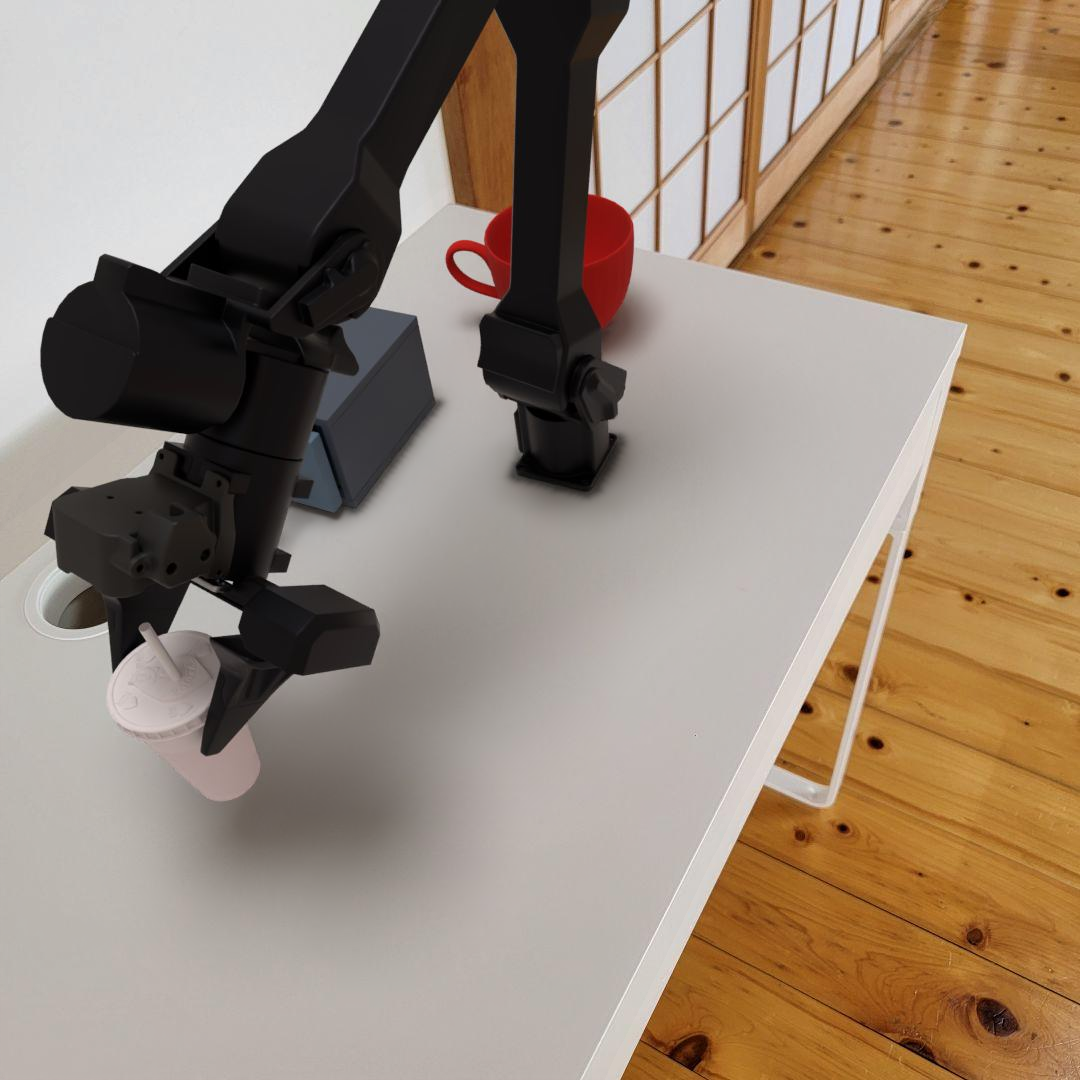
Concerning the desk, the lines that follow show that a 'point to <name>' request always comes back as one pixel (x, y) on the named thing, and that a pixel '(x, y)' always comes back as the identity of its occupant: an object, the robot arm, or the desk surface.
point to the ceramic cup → (602, 256)
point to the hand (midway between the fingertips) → (165, 725)
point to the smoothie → (180, 711)
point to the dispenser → (374, 399)
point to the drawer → (320, 474)
